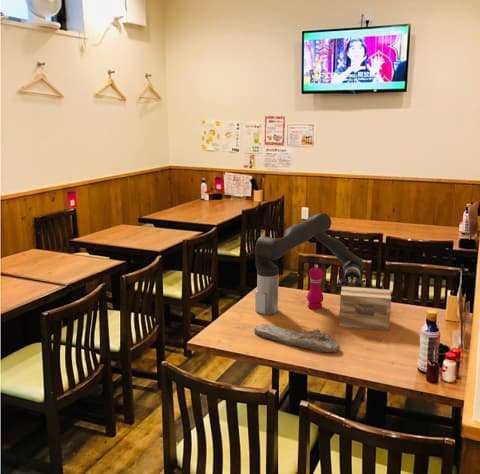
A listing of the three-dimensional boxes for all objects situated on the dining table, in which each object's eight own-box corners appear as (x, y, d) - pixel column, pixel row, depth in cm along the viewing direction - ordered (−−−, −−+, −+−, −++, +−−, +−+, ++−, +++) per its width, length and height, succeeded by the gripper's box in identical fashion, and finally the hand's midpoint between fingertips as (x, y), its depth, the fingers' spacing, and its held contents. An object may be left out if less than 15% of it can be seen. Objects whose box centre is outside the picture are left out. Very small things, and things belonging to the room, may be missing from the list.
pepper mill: (304, 308, 227) (305, 265, 222) (310, 303, 233) (311, 261, 228) (319, 311, 224) (321, 267, 219) (325, 305, 230) (326, 263, 225)
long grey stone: (261, 330, 208) (249, 340, 200) (261, 318, 206) (248, 328, 198) (343, 345, 190) (334, 357, 182) (343, 332, 188) (333, 344, 180)
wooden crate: (340, 315, 218) (341, 286, 215) (387, 320, 214) (389, 289, 211) (339, 326, 208) (340, 294, 205) (388, 330, 203) (391, 298, 200)
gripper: (338, 267, 245) (336, 278, 229) (367, 269, 242) (367, 280, 226) (338, 282, 247) (336, 294, 230) (366, 284, 244) (366, 296, 227)
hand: (351, 287), depth 228 cm, fingers closed
